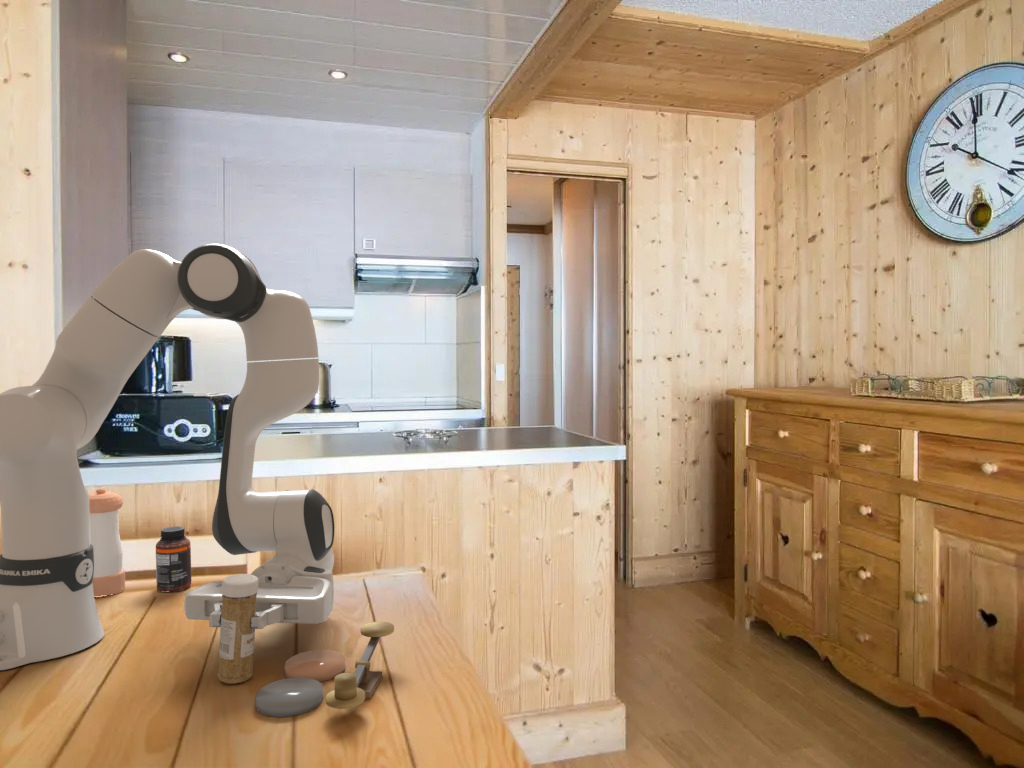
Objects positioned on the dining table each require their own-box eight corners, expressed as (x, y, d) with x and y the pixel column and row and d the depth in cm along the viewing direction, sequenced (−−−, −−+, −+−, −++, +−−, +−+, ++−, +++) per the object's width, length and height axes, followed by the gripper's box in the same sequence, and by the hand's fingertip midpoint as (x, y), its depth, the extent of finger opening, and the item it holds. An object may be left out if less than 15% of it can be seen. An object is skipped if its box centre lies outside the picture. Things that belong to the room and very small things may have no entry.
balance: (320, 723, 83) (320, 679, 83) (366, 656, 102) (366, 621, 102) (358, 724, 83) (358, 681, 83) (397, 657, 102) (397, 622, 102)
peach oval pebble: (275, 682, 94) (275, 673, 94) (298, 657, 102) (298, 648, 102) (334, 684, 94) (334, 675, 94) (352, 658, 102) (352, 650, 101)
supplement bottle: (178, 581, 137) (178, 523, 137) (198, 586, 134) (197, 527, 134) (149, 590, 132) (148, 529, 132) (169, 595, 129) (168, 533, 129)
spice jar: (256, 680, 94) (262, 581, 94) (220, 687, 92) (226, 585, 91) (248, 666, 98) (254, 571, 98) (213, 673, 96) (218, 574, 95)
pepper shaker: (88, 586, 134) (87, 485, 134) (130, 584, 136) (129, 484, 135) (72, 599, 127) (71, 492, 126) (117, 596, 128) (115, 491, 128)
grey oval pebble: (244, 715, 85) (244, 705, 85) (272, 685, 93) (272, 676, 93) (309, 718, 85) (309, 708, 85) (331, 687, 93) (331, 678, 93)
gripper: (211, 566, 108) (159, 596, 95) (342, 570, 107) (309, 601, 93) (211, 607, 109) (160, 642, 95) (342, 612, 107) (309, 649, 93)
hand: (235, 622), depth 94 cm, fingers closed on spice jar, 4 cm apart
